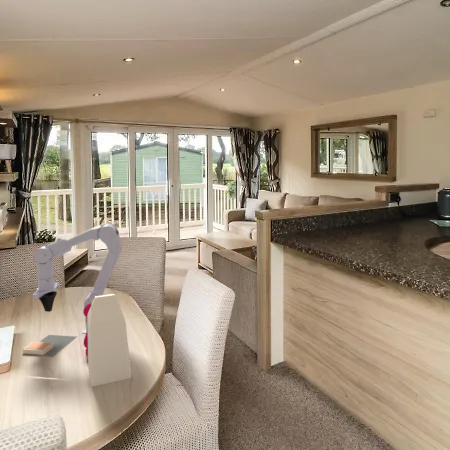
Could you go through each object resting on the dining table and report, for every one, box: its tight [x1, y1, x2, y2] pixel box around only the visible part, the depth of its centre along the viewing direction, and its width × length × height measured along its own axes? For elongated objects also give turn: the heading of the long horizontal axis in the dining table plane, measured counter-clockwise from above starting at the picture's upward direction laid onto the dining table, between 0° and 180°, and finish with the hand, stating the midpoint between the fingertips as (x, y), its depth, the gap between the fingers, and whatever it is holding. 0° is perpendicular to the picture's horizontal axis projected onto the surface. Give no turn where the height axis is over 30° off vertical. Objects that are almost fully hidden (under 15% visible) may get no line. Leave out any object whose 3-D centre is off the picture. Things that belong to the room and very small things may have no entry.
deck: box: [22, 341, 54, 355], centre depth 139 cm, size 8×2×6 cm
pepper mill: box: [82, 299, 93, 357], centre depth 136 cm, size 7×7×20 cm
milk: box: [87, 293, 132, 388], centre depth 122 cm, size 12×12×26 cm
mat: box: [22, 334, 77, 357], centre depth 143 cm, size 12×16×1 cm
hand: (48, 310), depth 151 cm, fingers closed
